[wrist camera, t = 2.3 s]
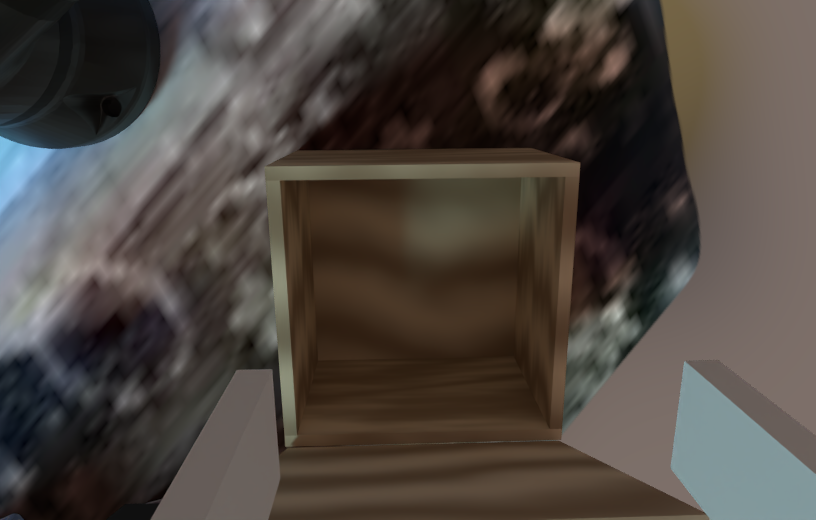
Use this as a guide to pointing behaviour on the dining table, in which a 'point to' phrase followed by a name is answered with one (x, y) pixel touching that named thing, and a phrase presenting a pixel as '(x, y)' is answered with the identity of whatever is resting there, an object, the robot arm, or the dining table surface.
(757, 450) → the robot arm
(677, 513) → the lid flap
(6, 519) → the ink cartridge box
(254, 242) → the dining table surface
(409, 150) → the wooden box
